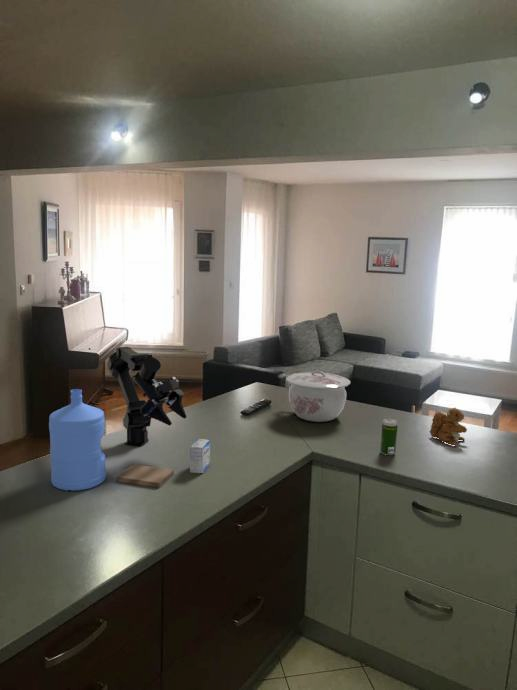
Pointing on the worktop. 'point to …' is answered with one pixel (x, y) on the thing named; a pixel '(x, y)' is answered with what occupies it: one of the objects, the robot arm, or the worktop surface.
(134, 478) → the walnut cutting board
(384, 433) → the beer can
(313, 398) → the chamber pot
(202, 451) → the medicine box
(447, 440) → the stuffed squirrel
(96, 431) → the water jug
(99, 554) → the worktop surface
